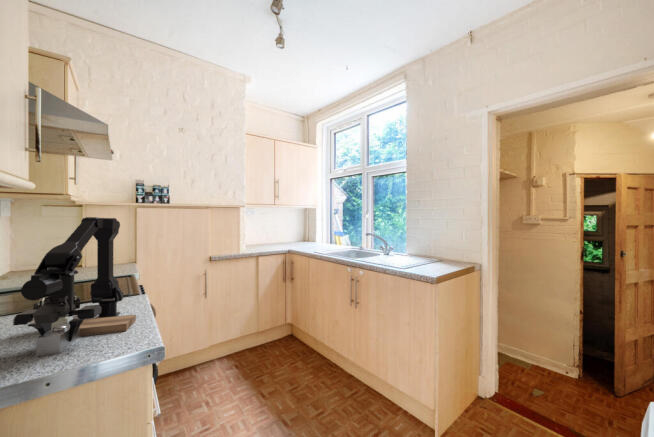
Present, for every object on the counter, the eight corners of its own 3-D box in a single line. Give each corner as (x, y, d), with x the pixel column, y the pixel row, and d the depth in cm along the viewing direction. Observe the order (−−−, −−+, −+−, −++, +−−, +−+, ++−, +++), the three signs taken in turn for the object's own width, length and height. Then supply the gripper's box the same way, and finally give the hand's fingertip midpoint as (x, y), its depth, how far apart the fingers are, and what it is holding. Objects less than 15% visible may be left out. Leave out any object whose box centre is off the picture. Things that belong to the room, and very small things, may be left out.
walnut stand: (83, 326, 97) (83, 319, 97) (135, 321, 102) (135, 314, 103) (68, 337, 88) (68, 329, 88) (126, 330, 93) (126, 323, 93)
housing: (59, 339, 86) (59, 321, 86) (79, 337, 87) (80, 319, 88) (35, 355, 75) (36, 335, 75) (59, 352, 77) (60, 332, 77)
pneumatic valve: (33, 330, 93) (34, 295, 93) (79, 321, 101) (80, 290, 101) (31, 335, 89) (33, 299, 89) (79, 325, 97) (80, 293, 97)
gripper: (-2, 301, 71) (-4, 360, 71) (85, 295, 77) (84, 349, 77) (27, 291, 81) (26, 342, 81) (102, 286, 88) (101, 334, 87)
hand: (59, 342), depth 81 cm, fingers closed on housing, 5 cm apart
